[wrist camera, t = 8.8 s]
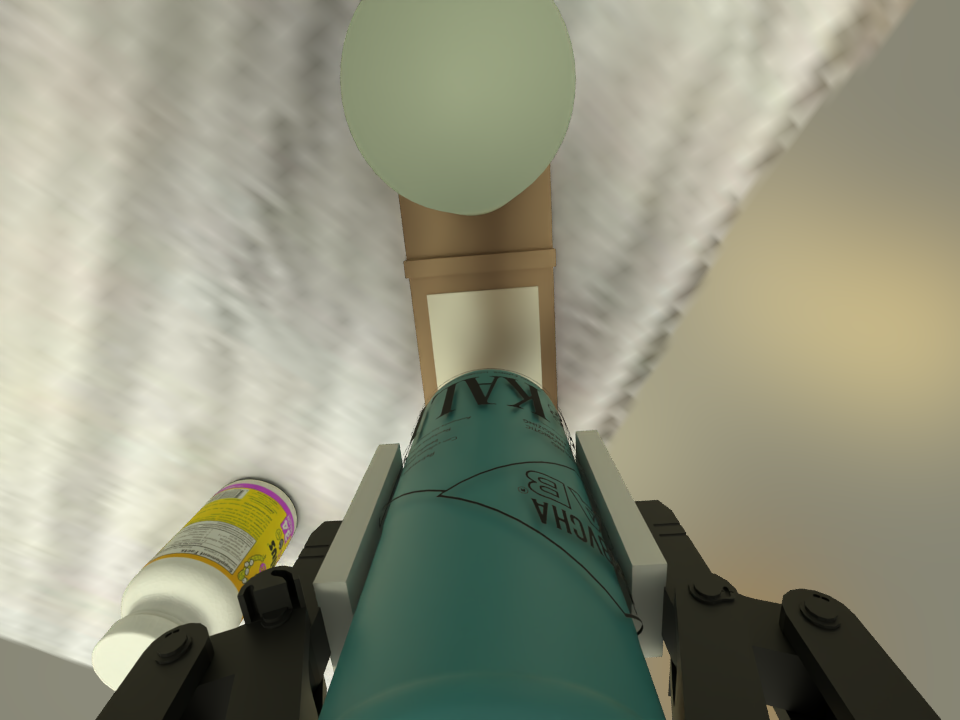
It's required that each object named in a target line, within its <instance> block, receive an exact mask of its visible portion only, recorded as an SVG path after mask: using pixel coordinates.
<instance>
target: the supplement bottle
mask: <svg viewBox="0 0 960 720" xmlns="http://www.w3.org/2000/svg"><path fill="white" fill-rule="evenodd" d="M296 525H297V516H296V511H295V508H294V506H293V504H292V502H291V500H290V499H289V497H288V496H287V495H286V494H285V493H284V492H283V491H281V490H280V489H279V488H277V487H276V486H274V485H271V484H269V483H267V482H263V481H259V480H252V479H247V480H239V481H236V482H233V483H230V484H228V485H226V486H225V487H223V488H222V489H221V490H220V491H219V492H218V493H216V494H215V495H214V496H213V497H212V498H211V499H210V500H209V501H208V502H207V503H206V504H205V505H204V506H203V508H202V509H201V510H200V511H199V512H198V513H197V514H196V515H195V516H194V517H193V518H192V519H191V520H190V521H189V522H188V523H187V524H186V525H185V526H184V527H183V528H182V529H181V530H180V531H179V532H178V533H177V534H176V535H175V536H174V537H173V538H172V539H171V540H170V541H169V542H168V543H167V544H166V545H165V546H164V547H163V548H162V549H161V550H160V551H159V552H158V553H157V554H156V555H155V557H154V558H153V559H152V560H151V561H149V562H148V563H147V564H146V565H145V566H144V568H143V569H142V570H141V571H140V572H139V573H138V574H137V575H136V576H135V577H134V578H133V579H132V580H131V582H130V583H129V585H128V586H127V588H126V590H125V592H124V595H123V598H122V602H121V616H122V619H120V620H118V621H117V622H116V623H114V625H113V626H112V627H111V628H110V629H109V630H108V632H107V633H106V634H105V635H104V636H103V637H102V639H101V640H100V641H99V642H98V643H97V645H96V646H95V648H94V650H93V654H92V665H93V668H94V670H95V672H96V674H97V675H98V677H99V678H100V679H101V680H102V682H104V683H105V684H106V685H107V686H109V687H110V688H111V689H113V690H115V691H116V690H117V689H118V687H119V686H120V684H121V683H122V682H123V680H124V679H125V677H126V676H127V674H128V673H129V672H130V670H131V669H132V667H133V666H134V665H135V663H136V662H137V660H138V659H139V657H140V656H141V655H142V653H143V652H144V651H145V650H146V649H147V648H148V646H149V645H150V644H151V643H152V642H153V641H154V640H156V639H157V638H158V637H160V636H161V635H162V634H164V633H165V632H167V631H169V630H171V629H173V628H175V627H177V626H180V625H184V624H188V623H201V624H202V625H204V626H205V627H207V630H208V633H209V635H210V636H211V635H214V634H218V633H221V632H224V631H227V630H230V629H233V628H237V627H238V626H239V625H240V623H241V621H242V620H243V614H242V611H241V608H240V605H239V601H238V598H237V595H238V593H239V591H240V589H241V587H242V586H243V585H244V584H245V583H246V582H247V581H248V580H249V579H250V578H252V577H253V576H255V575H256V574H258V573H260V572H261V571H264V570H267V569H269V568H272V567H275V565H276V564H277V562H278V560H279V559H280V557H281V556H282V554H283V552H284V551H285V549H286V547H287V546H288V544H289V542H290V540H291V539H292V537H293V535H294V533H295V529H296Z"/></svg>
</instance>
